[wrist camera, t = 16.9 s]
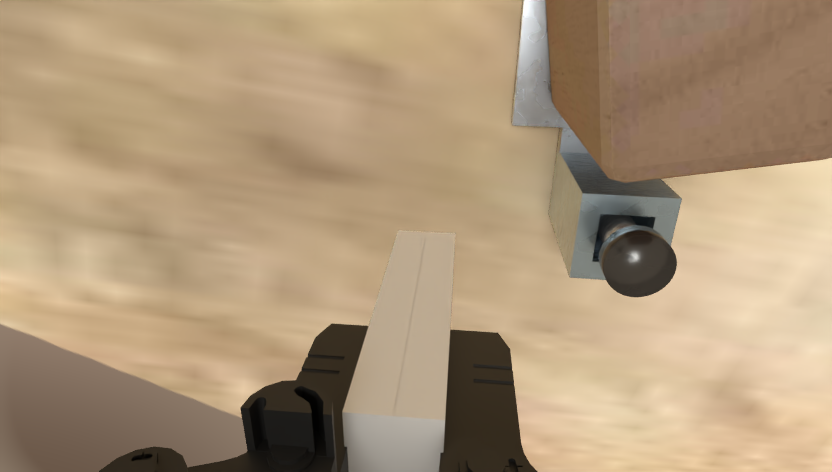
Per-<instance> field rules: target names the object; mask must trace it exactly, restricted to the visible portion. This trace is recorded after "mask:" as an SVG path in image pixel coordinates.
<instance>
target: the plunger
mask: <svg viewBox="0 0 832 472" xmlns="http://www.w3.org/2000/svg"><path fill="white" fill-rule="evenodd" d="M597 233H598V235H599V236H600V238H601V240H602V242H603V245H602V246H601V249H600V252H599V264H600V267H601V270H602V272H603V274H604V276H605V278H606V280H607V282H608V284H609V285H610V286H611V287H612V288H613V289H614V290H615V291H616V292H618V293H620V294H622V295H625V296H630V297H643V296H648V295H651V294H654V293H656V292H658V291H660V290H661V289H662V288H664V287H665V286H666V285H667V284H668V283H669V282H670V281H671V279H672V278H673V276H674V274H675V271H676V266H677V260H676V255H675V253H674V251H673V249H672V248H671V246H670V245H669V244H668V243H667V241H666V240H665V239H664V238H663V236H662V235H661V234H660V233H659V232H657V231H656V230H654V229H652V228H650V227H646V226H640V225H636V223H635V222H634V221H633V219H632V218H631V217H630V216H629V215H612V214H600V219H599V225H598V231H597Z"/></svg>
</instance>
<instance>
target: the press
mask: <svg viewBox="0 0 832 472" xmlns="http://www.w3.org/2000/svg"><path fill="white" fill-rule="evenodd" d="M511 122H512V125H515V126H539V127H560V130H559V138H558V145H557V153H556V161H555V168H554V176H553V184H552V191H551V199H550V207H549V217H550V220H551V223H552V226H553V229H554V232H555V235H556V238H557V241H558V244H559V247H560V250H561V253H562V256H563V259H564V262H565V265H566V268H567V271H568V275H569V277H571V278H586V279H600V280H606V278H605V276H604V274H603V272H602V270H601V267H600V264H599V252H600V249H601V246H602V245H603V242H602V240H601V238H600V236H599V235H598V233H597V231H598V225H599V219H600V214H612V215H629V216H630V217H631V218H632V219H633V221H634V222H635V223H636V225H640V226H646V227H650V228H652V229H654V230H656V231H657V232H659V233H660V234H661V235H662V236H663V238H664V239H665V240H666V241H667V243H668V244H669V245H670V246H671V242H672V238H673V234H674V229H675V225H676V221H677V217H678V213H679V208H680V204H681V200H682V198H680V197H679V196H678V195H677V194H676V193H675V192H674V191H673V190H672V189H671V188H670V187H669V186H668V185H667V184H666V183H664V182H663V181H662V180H661V179H653V180H644V181H636V182H627V183H624V182H620V181H616V180H612V179H609V178H608V177H607V176H606V174H605V173H604V172H603V170H602V169H601V168H600V166H599V165H598V164H597V163H596V161H595V160H594V159H593V157H592V156H591V155H590V153H589V152H588V151H587V149H586V148H585V147H584V145H583V144H582V143H581V141H580V140H579V139H578V137H577V136H576V135H575V133H574V132H573V131H572V130H571V128H570V127H569V126H568V124H567V123H566V122H565V120H564V119H563V118H562V116H561V115H560V114H559V112H558V111H557V110H556V108H555V106H554V104H553V102H552V93H551V77H550V61H549V45H548V30H547V14H546V0H523V2H522V13H521V24H520V35H519V45H518V56H517V67H516V78H515V89H514V99H513V110H512V121H511Z"/></svg>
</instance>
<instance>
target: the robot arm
mask: <svg viewBox="0 0 832 472" xmlns="http://www.w3.org/2000/svg"><path fill="white" fill-rule="evenodd" d="M454 253H455V233H445V232H425V231H405V230H398V232H397V235H396V238H395V242H394V245H393V248H392V252H391V255H390V258H389V261H388V265H387V268H386V271H385V274H384V278H383V281H382V284H381V287H380V291H379V294H378V297H377V300H376V304H375V307H374V310H373V314H372V317H371V320H370V323H369V326H359V325H344V324H331V325H330V326H328V327H327V328H326V329H325V330H324V331H323V332H321V333H320V334H319V335H318V336H317V337H316V338H315V340H314V342H313V344H312V347H311V349H310V351H309V353H308V358H306V360H305V362H304V364H303V366H302V371H301V372H300V373H299V375H298V377H297V380H293V381H281V382H278V383H275V384H272V385H269V386H265V387H264V388H262V389H261V390H259V391H257V392H256V393H254V394H253V395H251V396H250V397H249V398H248V400H247V401H246V402H245V403H244V404H243V405H242V407H241V414H242V420H243V425H244V431H245V438H246V444H247V450H248V451H247V453H245V454H243V455H240V456H238V457H235V458H232V459H228V460H225V461H220V462H215V463H210V464H204V465H199V466H193V467H189V468H187V465H186V463H185V461H184V458H183V456H182V455H180V454H179V453H177V452H176V451H174V450H172V449H169V448H162V447H150V448H145V449H140V450H135V451H133V452H130V453H128V454H126V455H124V456H121V457H119V458H117V459H115V460H114V461H113V462H111V463H110V464H108V465H107V466H106V467H104V468H103V469H101V470H100V471H99V472H537V471H536V470H535V469H534V468H533V467H532V466H531V464H530V463H529V461H528V460H527V458H526V456H525V455H524V452H523V448H522V445H521V439H520V430H519V422H518V413H517V405H516V396H515V388H514V379H513V371H512V363H511V354H510V348H509V347H508V346H507V344H506V343H505V342H504V340H503V339H502V338H501V336H500V335H499V334H498V333H492V332H477V331H461V330H451V313H452V293H453V273H454Z"/></svg>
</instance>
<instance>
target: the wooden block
mask: <svg viewBox="0 0 832 472" xmlns="http://www.w3.org/2000/svg"><path fill="white" fill-rule="evenodd" d="M546 14H547V30H548V45H549V61H550V77H551V93H552V102H553V104H554V106H555V108H556V110H557V111H558V112H559V114H560V115H561V116H562V118H563V119H564V120H565V122H566V123H567V124H568V126H569V127H570V128H571V130H572V131H573V132H574V133H575V135H576V136H577V137H578V139H579V140H580V141H581V143H582V144H583V145H584V147H585V148H586V149H587V151H588V152H589V153H590V155H591V156H592V157H593V159H594V160H595V161H596V163H597V164H598V165H599V166H600V168H601V169H602V170H603V172H604V173H605V174H606V176H607V177H608V178H609V179H612V180H616V181H620V182H624V183H627V182H636V181H644V180H653V179H662V178H670V177H679V176H687V175H696V174H705V173H713V172H722V171H730V170H739V169H748V168H756V167H765V166H773V165H782V164H791V163H799V162H808V161H816V160H823V159H828V158H832V0H546Z"/></svg>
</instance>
